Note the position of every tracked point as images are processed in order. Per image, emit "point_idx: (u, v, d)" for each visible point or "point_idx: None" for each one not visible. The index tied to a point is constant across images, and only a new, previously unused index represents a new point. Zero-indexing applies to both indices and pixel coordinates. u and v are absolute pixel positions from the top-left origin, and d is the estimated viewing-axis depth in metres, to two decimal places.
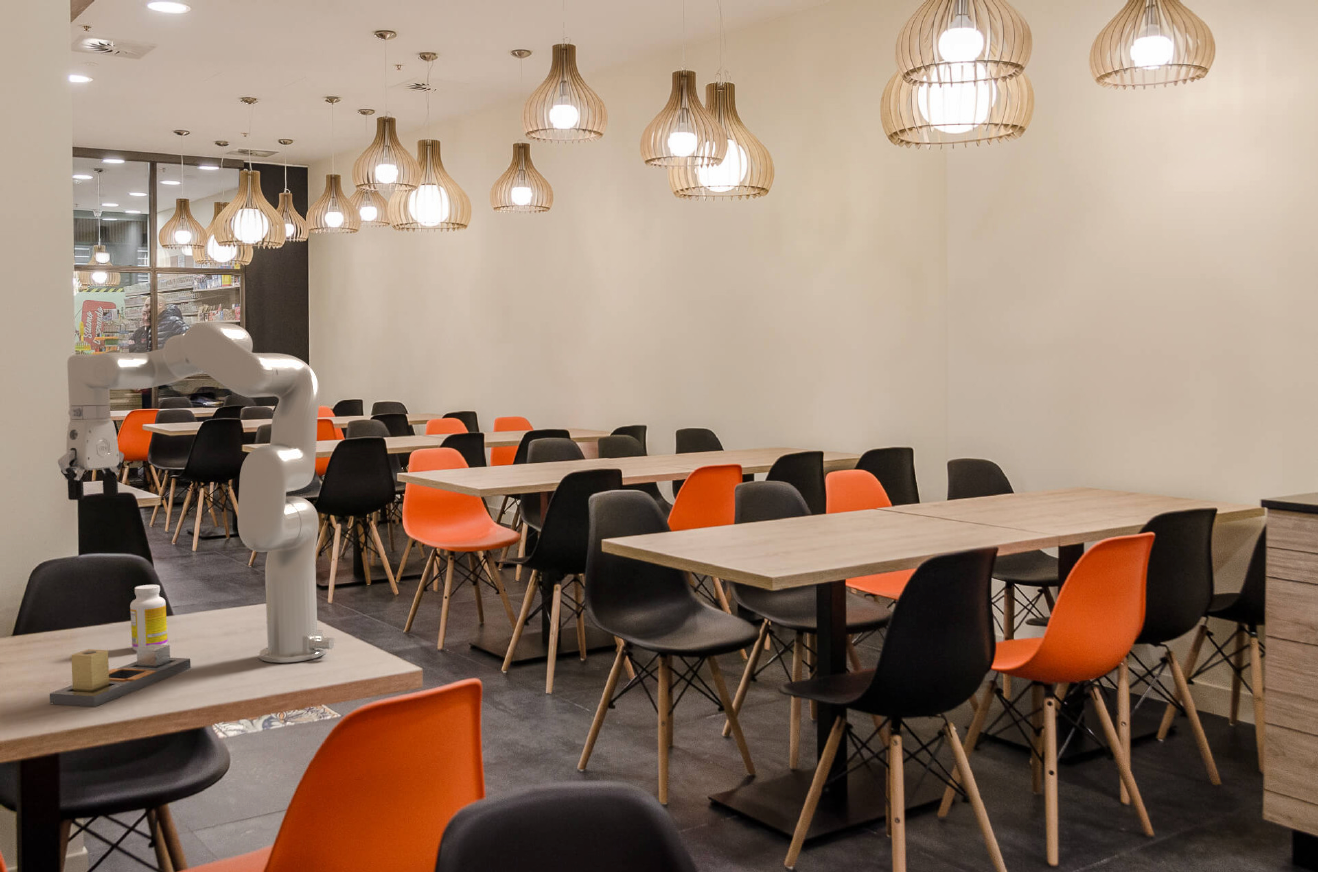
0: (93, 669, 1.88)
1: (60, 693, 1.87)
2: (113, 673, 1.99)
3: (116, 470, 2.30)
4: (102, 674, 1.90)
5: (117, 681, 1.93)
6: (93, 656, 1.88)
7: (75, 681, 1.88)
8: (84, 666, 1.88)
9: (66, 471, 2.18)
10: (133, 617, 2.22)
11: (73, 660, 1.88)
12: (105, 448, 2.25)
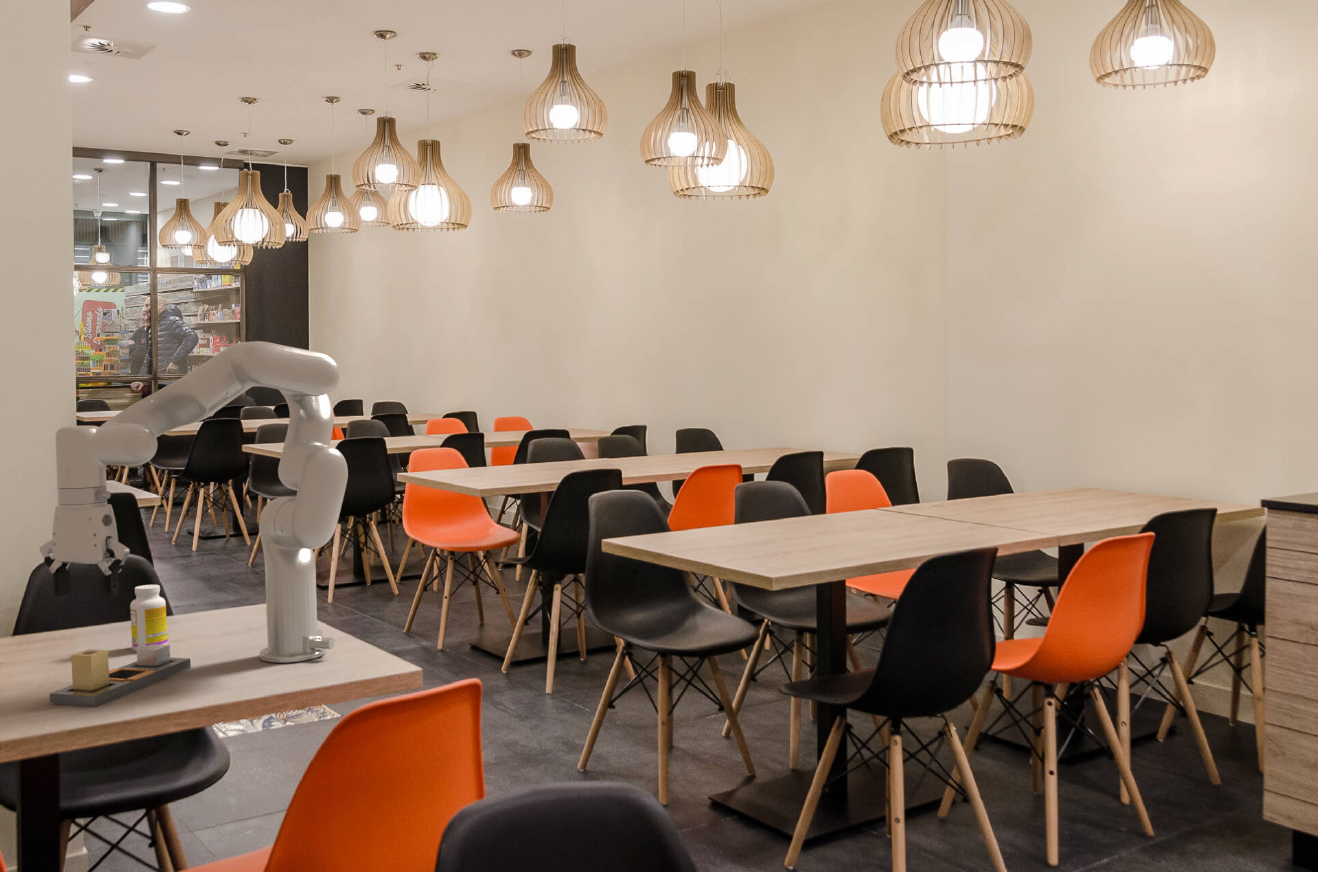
0: (93, 669, 1.88)
1: (60, 693, 1.87)
2: (113, 673, 1.99)
3: None
4: (102, 674, 1.90)
5: (117, 681, 1.93)
6: (93, 656, 1.88)
7: (75, 681, 1.88)
8: (84, 666, 1.88)
9: (124, 562, 1.87)
10: (133, 617, 2.22)
11: (73, 660, 1.88)
12: None
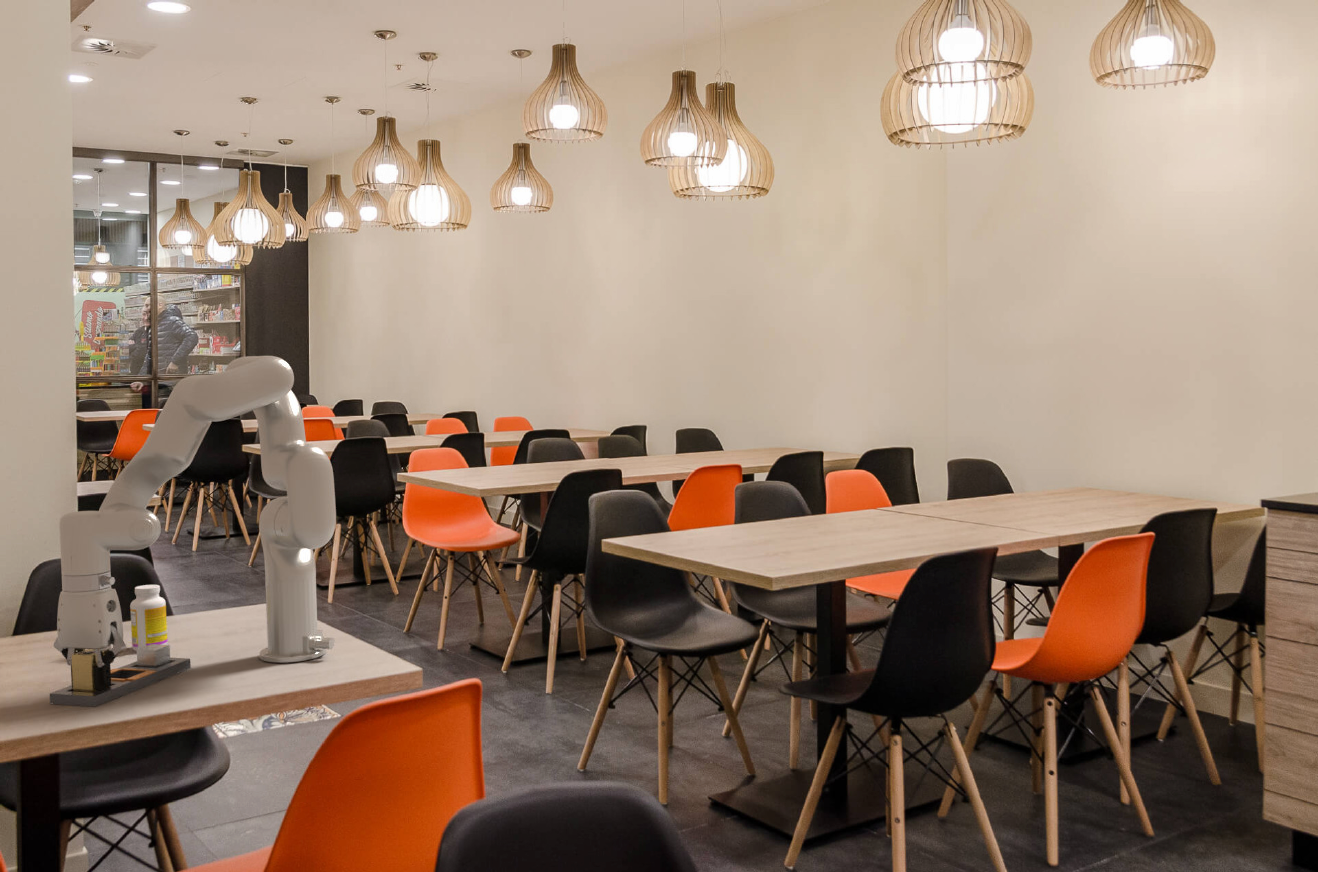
0: (93, 668, 1.88)
1: (60, 693, 1.87)
2: (113, 673, 1.99)
3: None
4: None
5: (117, 681, 1.93)
6: (93, 656, 1.88)
7: (75, 681, 1.88)
8: (84, 665, 1.88)
9: (117, 653, 1.89)
10: (133, 617, 2.22)
11: (73, 660, 1.88)
12: None
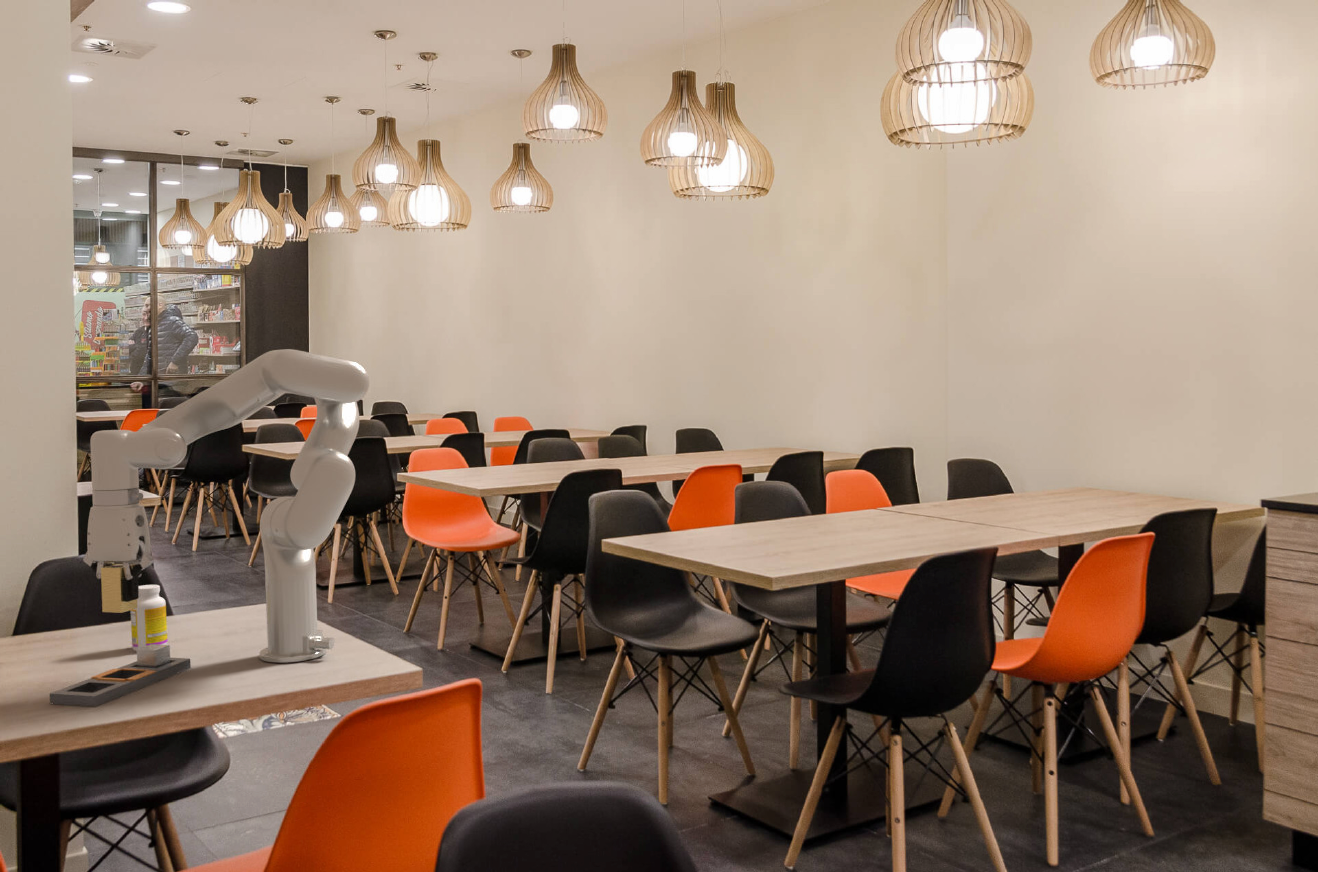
0: (122, 581, 1.95)
1: (60, 693, 1.87)
2: (113, 673, 1.99)
3: None
4: None
5: (117, 681, 1.93)
6: (122, 569, 1.95)
7: (104, 593, 1.95)
8: (113, 578, 1.95)
9: None
10: (133, 617, 2.22)
11: (102, 572, 1.95)
12: None
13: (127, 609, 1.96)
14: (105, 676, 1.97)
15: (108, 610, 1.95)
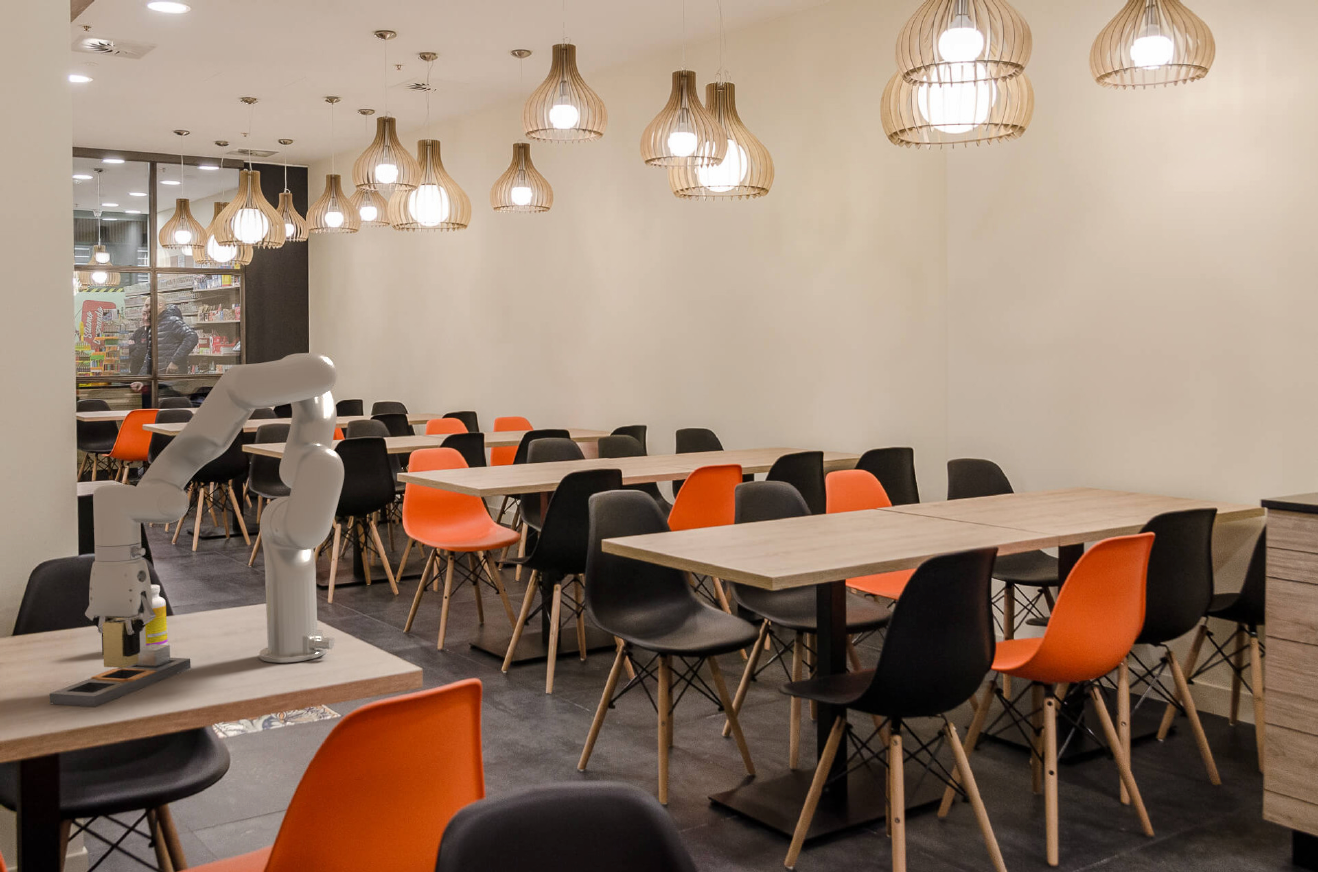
0: (124, 636, 1.95)
1: (60, 693, 1.87)
2: (113, 673, 1.99)
3: None
4: None
5: (117, 681, 1.93)
6: (123, 624, 1.95)
7: (106, 648, 1.96)
8: (115, 633, 1.95)
9: None
10: None
11: (104, 627, 1.96)
12: None
13: (128, 664, 1.96)
14: (105, 676, 1.97)
15: (109, 665, 1.96)
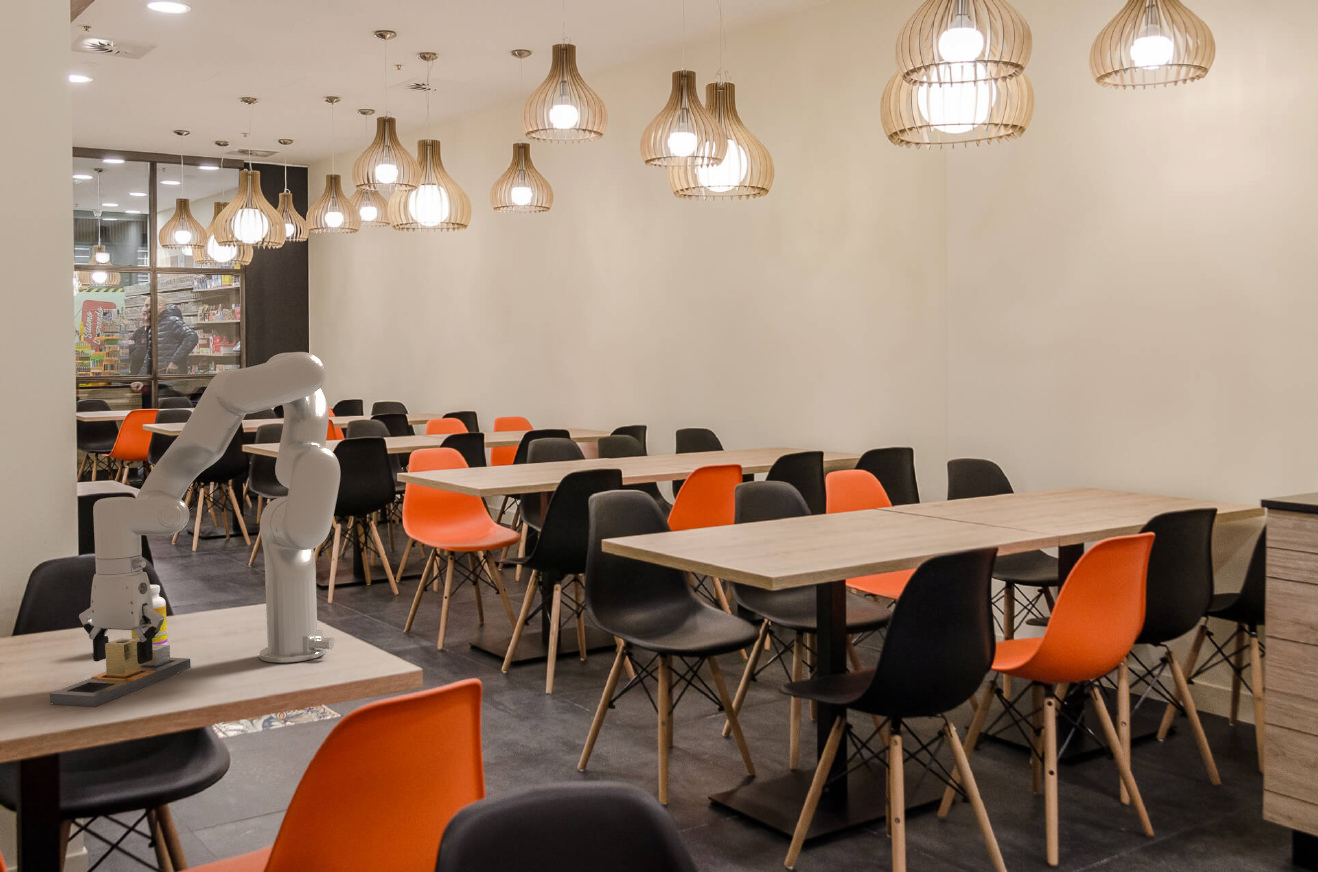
0: (126, 657, 1.96)
1: (60, 693, 1.87)
2: None
3: None
4: (134, 662, 1.98)
5: (117, 681, 1.93)
6: (126, 645, 1.96)
7: (109, 669, 1.96)
8: (117, 654, 1.95)
9: (158, 629, 1.96)
10: None
11: (107, 648, 1.96)
12: None
13: None
14: (105, 676, 1.97)
15: None
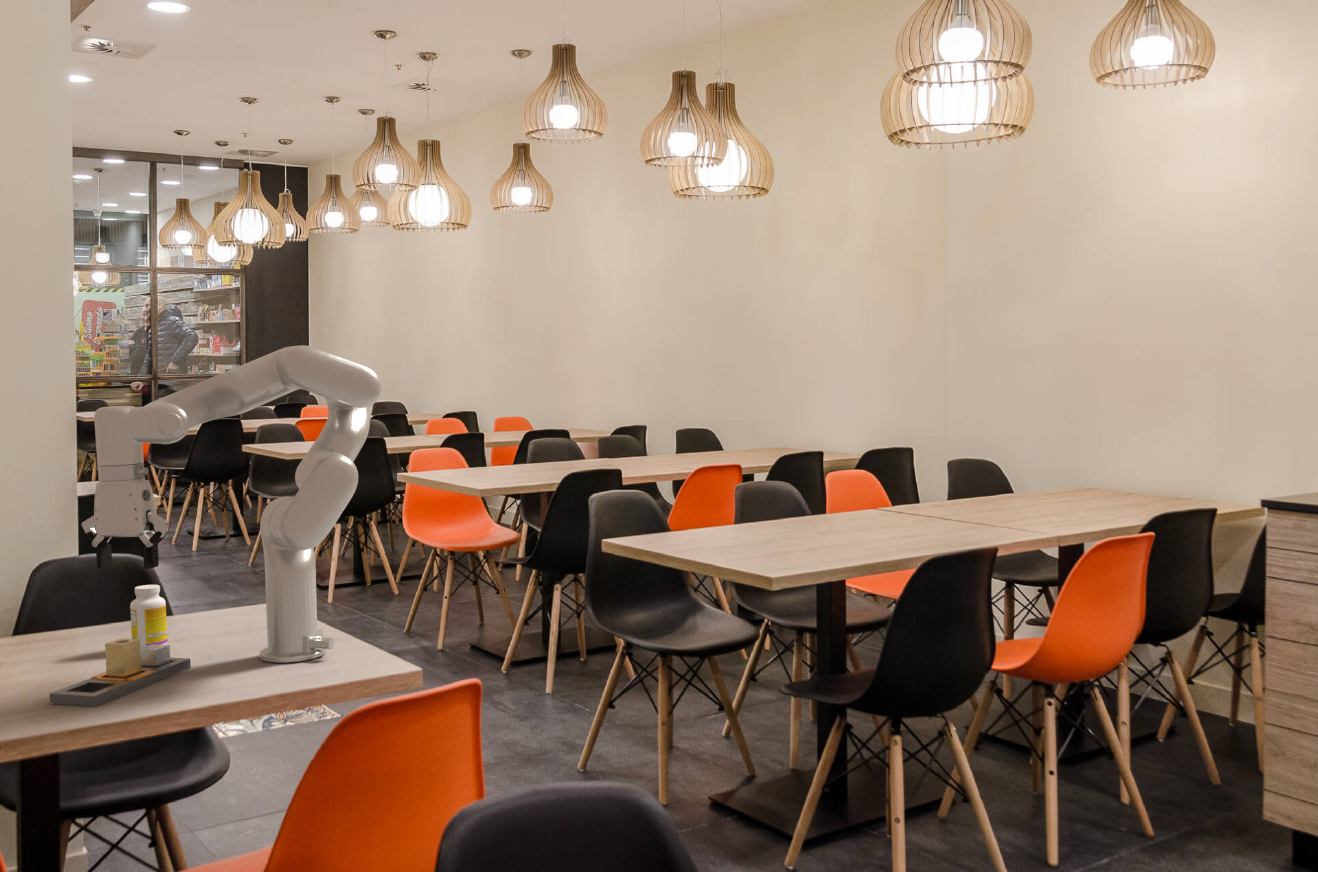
0: (126, 657, 1.96)
1: (60, 693, 1.87)
2: None
3: None
4: (134, 662, 1.98)
5: (117, 681, 1.93)
6: (126, 645, 1.96)
7: (109, 669, 1.96)
8: (117, 654, 1.95)
9: (164, 534, 1.97)
10: (133, 617, 2.22)
11: (107, 648, 1.96)
12: None
13: None
14: (105, 676, 1.97)
15: None
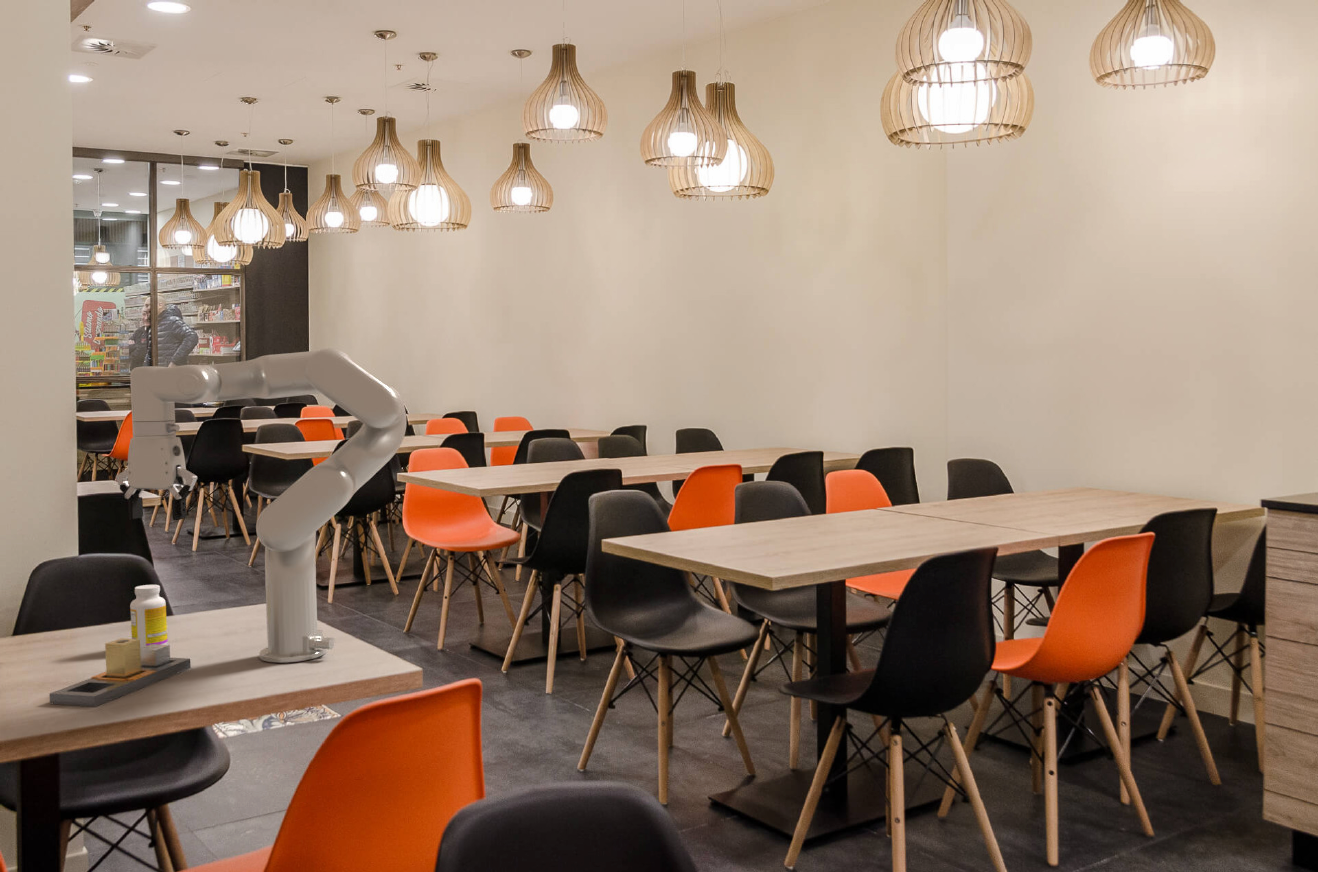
0: (126, 657, 1.96)
1: (60, 693, 1.87)
2: None
3: None
4: (134, 662, 1.98)
5: (117, 681, 1.93)
6: (126, 645, 1.96)
7: (109, 669, 1.96)
8: (118, 654, 1.95)
9: (192, 488, 2.09)
10: (133, 617, 2.22)
11: (107, 648, 1.96)
12: None
13: None
14: (105, 676, 1.97)
15: None
